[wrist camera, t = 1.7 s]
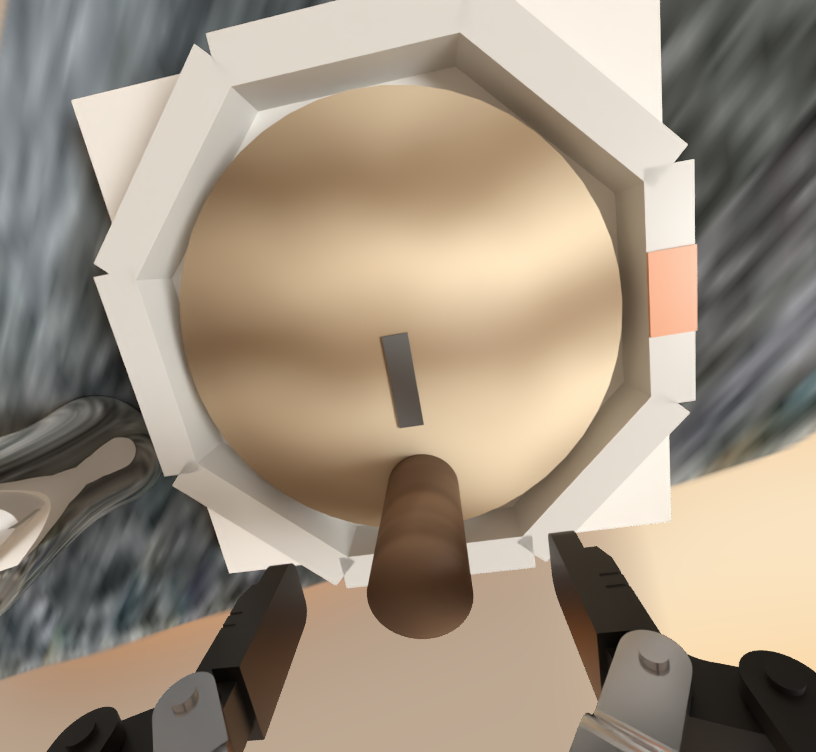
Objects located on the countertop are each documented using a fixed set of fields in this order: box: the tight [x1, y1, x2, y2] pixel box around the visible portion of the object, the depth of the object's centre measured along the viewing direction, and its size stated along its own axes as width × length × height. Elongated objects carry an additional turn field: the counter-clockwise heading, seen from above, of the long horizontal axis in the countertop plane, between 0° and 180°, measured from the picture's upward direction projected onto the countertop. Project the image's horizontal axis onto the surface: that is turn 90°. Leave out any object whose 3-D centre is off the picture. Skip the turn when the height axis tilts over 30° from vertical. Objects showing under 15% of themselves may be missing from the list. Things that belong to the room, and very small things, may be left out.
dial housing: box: [71, 0, 697, 588], centre depth 17 cm, size 22×22×4 cm
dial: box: [180, 85, 622, 639], centre depth 14 cm, size 17×17×8 cm
